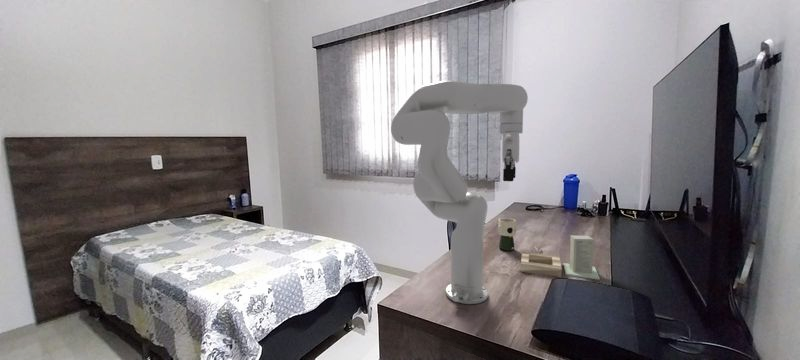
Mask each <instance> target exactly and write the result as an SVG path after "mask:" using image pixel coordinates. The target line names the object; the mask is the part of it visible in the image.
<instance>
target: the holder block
mask: <svg viewBox="0 0 800 360" xmlns="http://www.w3.org/2000/svg"><path fill="white" fill-rule="evenodd" d="M520 258H521V260H520V272H521V273H526V274H535V275H536V274H537V275H542V276H547V277H548V276H550V277H555V276H556V277H557V278H562V276H563V275H562V274H563V273H562V271H563V270H562V269H563V268H562V263H561V259H560V255H554V254H547V253H546V254H545V253H538V252H530V251H521V257H520Z"/></svg>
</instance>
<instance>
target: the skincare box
mask: <svg viewBox="0 0 800 360" xmlns="http://www.w3.org/2000/svg"><path fill="white" fill-rule="evenodd" d="M569 239H570V242H569V249H570V250H569V264H570V265H569V267H570V268H571V270H572V271H573V272H585V273H592V267H594V266H593V264H594V263H593V262H594V240H595V239H594V238H592V237H591V236H590V235H586V234H585V235H583V234H581V235H579V234H578V235H577V234H575V235H572V234H570V238H569Z"/></svg>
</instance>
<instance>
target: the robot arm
mask: <svg viewBox="0 0 800 360" xmlns="http://www.w3.org/2000/svg"><path fill="white" fill-rule="evenodd" d="M528 101H529V98H528V93H527V90H526V89H525V88H524V87H523V86H521V85H517V84H511V83H508V84H507V83H473V82H472V83H471V82H463V81H457V80H455V81H454V80H441V81H438V82H437V81H436V82H433V83H428V84H423V85H420V86H419V87H418V88H417V89H416V90H414V92H413V93H412V94H411V95H410V96H409V97H408V99H407V100H406V101H405V102H404V104H403V105H402V106H401V108H400V109H399V110H398V112H397V113H396V114H395V116H394V118H393V119H392V121H391V126H390V132H391V135H392V138H393V139H394V140H395V142H397V143H399V144H401V145H405V146H406V145H407V146H411V145H412V146H414V145H415V146H416V145H417V146H420V149H419V155H418V158H417V165H416V166H417V170H418V172H416V174H415V175H414V178H413V184H412V185H413V191H414V194H415V196H416V197H417V198H418V200H419V201H421V203H422V204H423V205H424V206H425V207H426V208H427V209H428V210H429V212H430V213H431V214H433V216H435V217H436V218H437V219H441V220H445V221H448V222H449V221H450V222H453V223H456V227H455V228H454V230H453V231H452V234H451V236H450V284H448V285H446V288H445V295H446V296H447V297H448V298H449V299H450V300H452V301H453V302H455V303H459V304H465V305H476V304H480V303H483V302H485V301H486V300H487V299H488V297H489V292H488V290H487V288H485V286H484V285H483V283H484V282H483V280H484V279H483V278H484V271H483V270H484V234H485V233H484V232H485V225H486V219H487V215H488V202H487V200H486V199H485V198H484V197H483V196H482V195H480V194H478V193H476V192H470V191H468V185H467V182H466V181H465V179H464V177H463V176H462V174H461V173H460V172H459V170H458V169H457V167H456V166H455V164H453V162H452V161H451V159H450V157H449V155H448V145H449V139H450V131H451V122H450V120H449V118H448V115H449V114H450V115H452V114H453V115H454V114H455V115H457V114H458V115H459V114H462V115H476V114H477V115H478V114H493V115H494V114H499V117H498V118H499V123H498V125H499V127H498V128H499V129H498V134H499V135H502V143H501V144H502V147H501V148H502V151H501V153H502V154H501V155H502V156H501V157H502V162H503V164H504V165H503V173H502V174H503V175H502V181H504V182H513V181H514V179H515V178H516V172H517V171H516V164H517V163H519V162H520V134H523V133H524V132H523V131H524V130H523V128H524V127H523V126H524V124H523V123H524V109H525V107H526V106H527V104H528Z"/></svg>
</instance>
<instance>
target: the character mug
mask: <svg viewBox="0 0 800 360" xmlns="http://www.w3.org/2000/svg"><path fill="white" fill-rule="evenodd" d="M516 228H517V220H516V218H515V219H514V218H510V217H501V218H498V226H497V234H498V235H500V238H499V242H498V245H499V246H498V248H499V249H501V250H503V251H513V250H515V239H514V236H516V234H517V229H516Z"/></svg>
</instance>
